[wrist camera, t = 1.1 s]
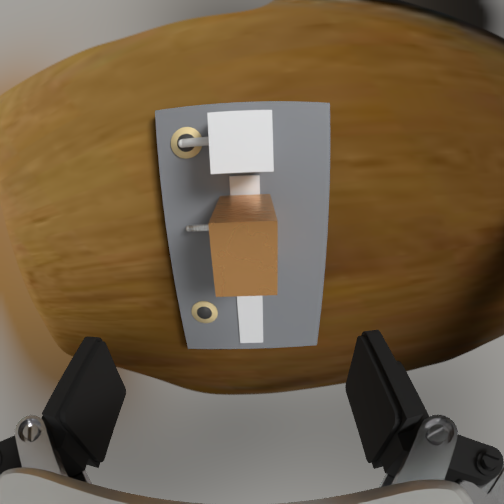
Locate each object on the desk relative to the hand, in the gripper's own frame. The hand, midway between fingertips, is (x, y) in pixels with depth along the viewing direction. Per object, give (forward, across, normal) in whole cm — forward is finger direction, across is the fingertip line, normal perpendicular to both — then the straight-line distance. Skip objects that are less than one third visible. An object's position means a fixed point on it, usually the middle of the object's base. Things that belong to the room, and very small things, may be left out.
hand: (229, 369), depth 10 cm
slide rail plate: (+18, -1, +2) cm, 18 cm away
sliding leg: (+16, +1, 0) cm, 16 cm away
